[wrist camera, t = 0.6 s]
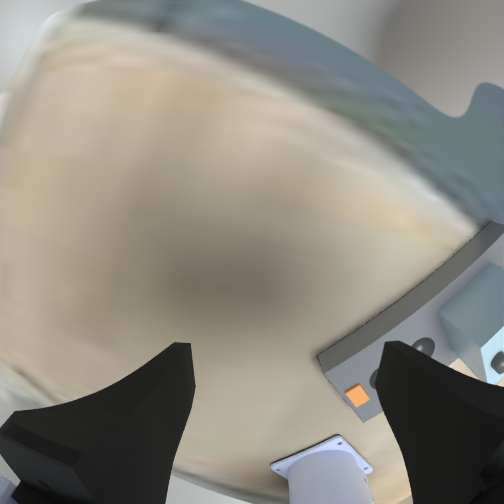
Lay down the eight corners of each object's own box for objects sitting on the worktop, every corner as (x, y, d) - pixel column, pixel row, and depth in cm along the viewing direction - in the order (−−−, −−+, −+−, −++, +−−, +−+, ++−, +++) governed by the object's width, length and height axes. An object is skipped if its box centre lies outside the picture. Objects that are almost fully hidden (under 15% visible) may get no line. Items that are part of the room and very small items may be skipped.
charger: (489, 298, 19) (549, 339, 11) (442, 340, 20) (494, 396, 12) (477, 256, 19) (547, 290, 11) (426, 301, 19) (487, 355, 12)
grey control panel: (508, 284, 20) (526, 294, 17) (356, 403, 23) (364, 425, 20) (490, 221, 18) (512, 227, 16) (317, 354, 21) (324, 376, 19)
